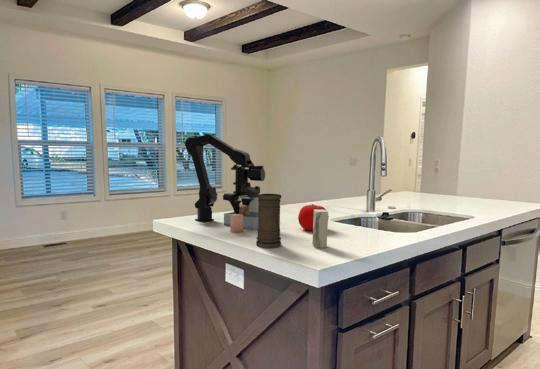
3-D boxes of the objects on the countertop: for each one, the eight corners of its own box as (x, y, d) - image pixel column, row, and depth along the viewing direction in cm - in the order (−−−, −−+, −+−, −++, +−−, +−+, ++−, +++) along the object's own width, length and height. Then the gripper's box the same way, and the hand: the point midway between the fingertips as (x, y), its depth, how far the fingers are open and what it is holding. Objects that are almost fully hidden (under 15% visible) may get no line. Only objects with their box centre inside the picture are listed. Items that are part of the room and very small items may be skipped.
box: (312, 244, 136) (313, 209, 135) (324, 244, 137) (325, 209, 135) (315, 248, 131) (316, 211, 130) (327, 248, 131) (328, 211, 130)
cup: (260, 220, 181) (261, 195, 180) (244, 219, 182) (244, 194, 181) (264, 217, 189) (264, 193, 187) (248, 216, 190) (248, 192, 189)
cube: (242, 218, 168) (242, 207, 167) (233, 216, 171) (233, 205, 170) (249, 216, 172) (249, 205, 171) (240, 215, 175) (241, 204, 174)
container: (263, 249, 128) (263, 196, 127) (251, 243, 136) (252, 193, 135) (285, 246, 133) (287, 195, 131) (273, 240, 141) (274, 192, 139)
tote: (223, 224, 169) (223, 213, 168) (243, 220, 179) (243, 209, 179) (254, 230, 159) (254, 218, 158) (272, 225, 169) (272, 214, 169)
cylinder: (227, 231, 155) (228, 214, 154) (236, 229, 159) (236, 213, 158) (237, 233, 152) (237, 216, 151) (245, 231, 156) (245, 214, 155)
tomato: (292, 229, 161) (292, 204, 160) (310, 225, 170) (311, 201, 169) (314, 234, 153) (315, 207, 152) (333, 229, 162) (333, 204, 161)
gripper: (241, 182, 157) (241, 219, 159) (268, 180, 172) (267, 214, 174) (222, 180, 164) (222, 216, 165) (249, 178, 179) (249, 211, 180)
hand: (241, 214), depth 171 cm, fingers closed on cube, 5 cm apart
